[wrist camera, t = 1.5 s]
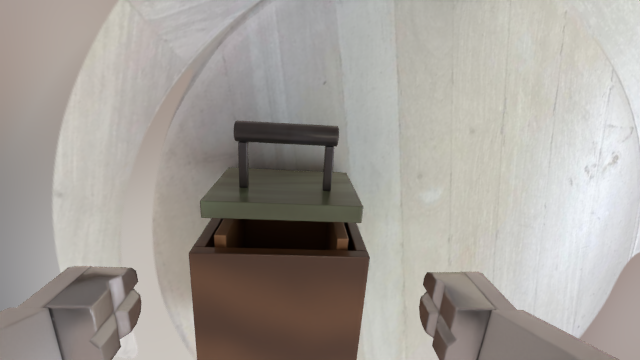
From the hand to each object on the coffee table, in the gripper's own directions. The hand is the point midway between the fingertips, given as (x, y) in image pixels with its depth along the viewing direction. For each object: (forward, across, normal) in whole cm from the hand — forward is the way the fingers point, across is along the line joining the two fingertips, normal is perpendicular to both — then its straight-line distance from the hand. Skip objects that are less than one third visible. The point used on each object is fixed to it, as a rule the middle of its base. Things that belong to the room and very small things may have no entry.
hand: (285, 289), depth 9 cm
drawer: (+18, +1, +6) cm, 19 cm away
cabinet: (+19, +1, +12) cm, 23 cm away
